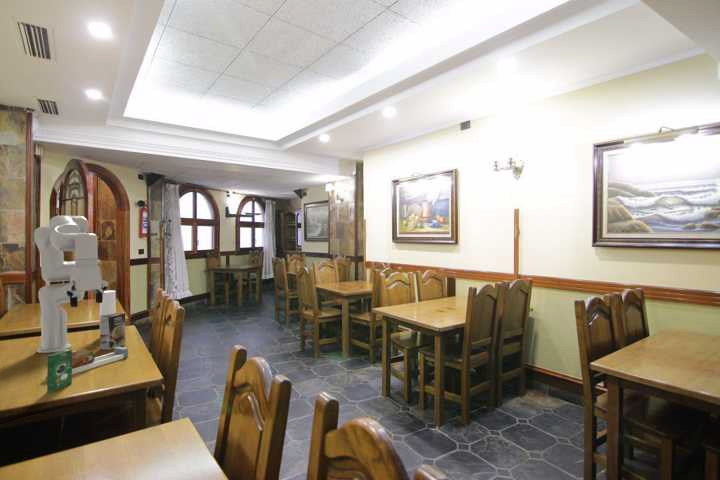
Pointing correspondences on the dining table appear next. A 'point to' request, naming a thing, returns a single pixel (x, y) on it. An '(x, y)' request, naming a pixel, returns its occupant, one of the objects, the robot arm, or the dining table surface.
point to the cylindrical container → (108, 303)
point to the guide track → (104, 359)
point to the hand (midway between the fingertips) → (87, 304)
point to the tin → (82, 358)
